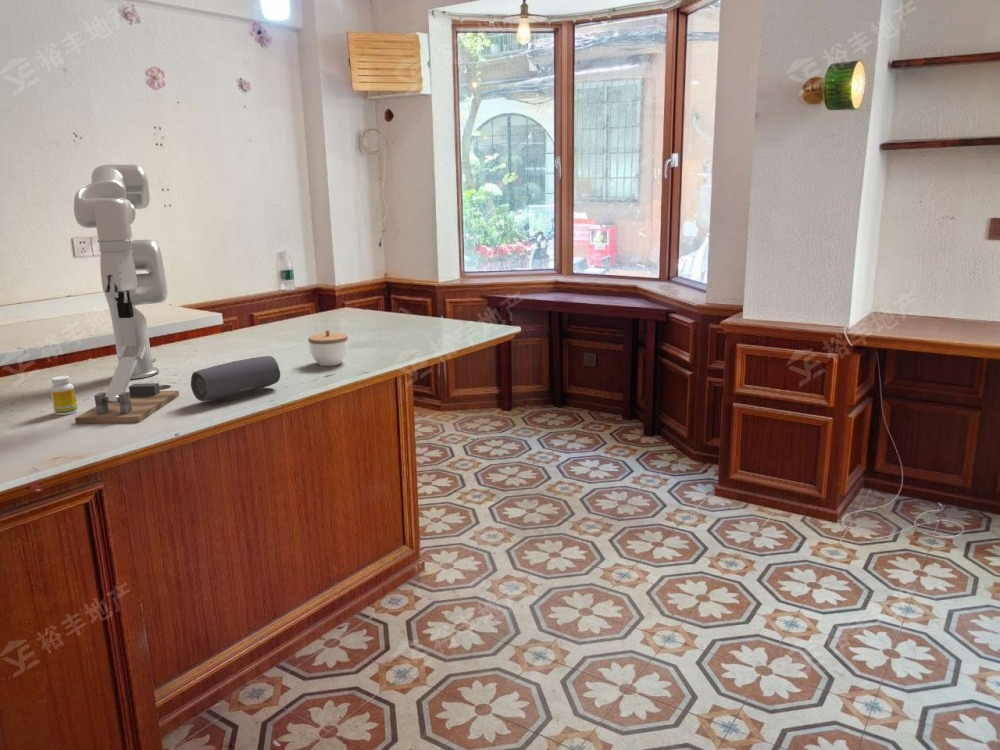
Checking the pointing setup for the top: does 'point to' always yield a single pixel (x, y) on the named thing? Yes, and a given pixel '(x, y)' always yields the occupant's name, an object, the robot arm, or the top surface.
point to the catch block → (144, 389)
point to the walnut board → (125, 408)
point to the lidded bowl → (328, 348)
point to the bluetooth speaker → (235, 378)
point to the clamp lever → (123, 371)
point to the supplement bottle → (63, 396)
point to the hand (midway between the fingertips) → (126, 317)
